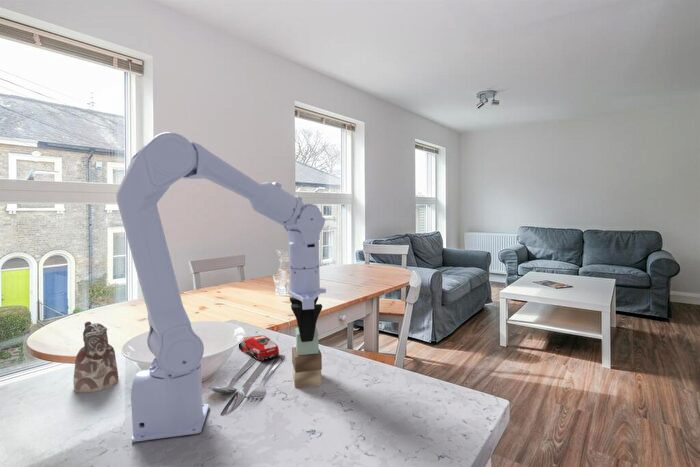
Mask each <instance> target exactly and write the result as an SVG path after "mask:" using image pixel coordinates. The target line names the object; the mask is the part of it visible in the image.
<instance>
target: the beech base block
mask: <svg viewBox="0 0 700 467" xmlns="http://www.w3.org/2000/svg"><path fill="white" fill-rule="evenodd" d="M292 376H293V382H294V388H303V387H311V386H320V385H322V369H321V370H313V371H306V372H298V373H295V370H294V366H293V365H292Z"/></svg>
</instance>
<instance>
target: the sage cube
mask: <svg viewBox="0 0 700 467" xmlns="http://www.w3.org/2000/svg"><path fill="white" fill-rule="evenodd" d="M294 330H295V347H296V351H297V355H307V354H317V353H319V350H320V348H319V331H318V329H317V326H316V327H315V333H314V338H313V341H310V342H302V341H301V338H300V333H299V328H298V327H295V329H294Z"/></svg>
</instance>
